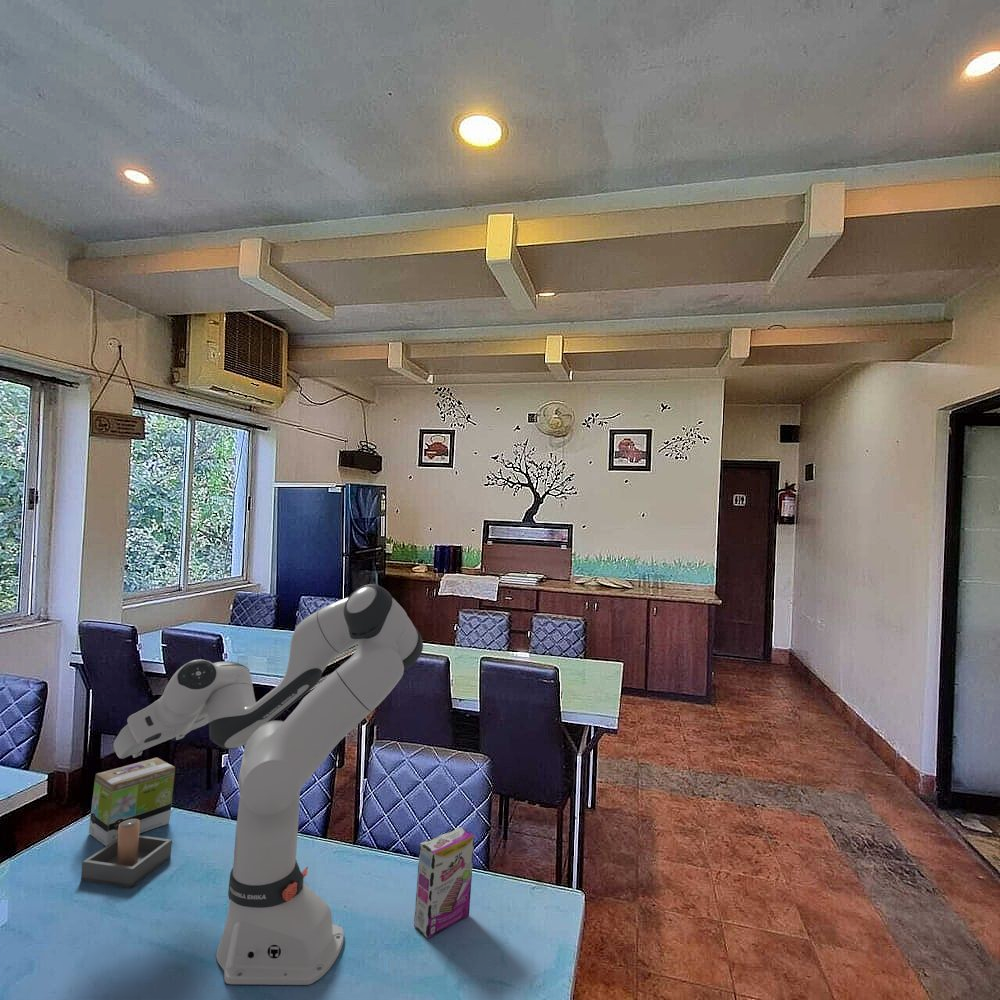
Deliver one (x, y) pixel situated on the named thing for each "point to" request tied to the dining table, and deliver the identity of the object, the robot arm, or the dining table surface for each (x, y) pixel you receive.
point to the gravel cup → (128, 842)
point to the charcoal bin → (111, 873)
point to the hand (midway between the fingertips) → (157, 744)
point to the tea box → (131, 798)
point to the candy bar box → (443, 881)
